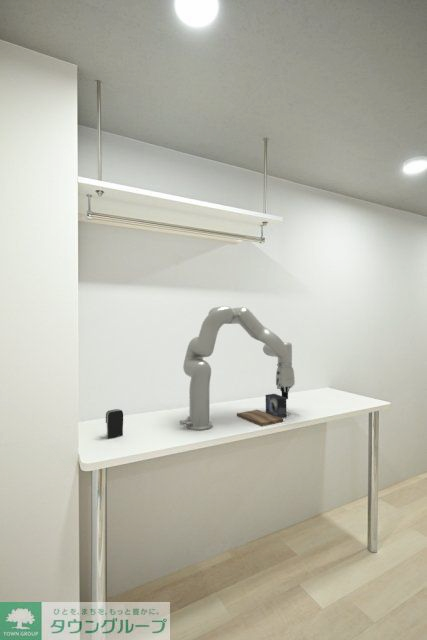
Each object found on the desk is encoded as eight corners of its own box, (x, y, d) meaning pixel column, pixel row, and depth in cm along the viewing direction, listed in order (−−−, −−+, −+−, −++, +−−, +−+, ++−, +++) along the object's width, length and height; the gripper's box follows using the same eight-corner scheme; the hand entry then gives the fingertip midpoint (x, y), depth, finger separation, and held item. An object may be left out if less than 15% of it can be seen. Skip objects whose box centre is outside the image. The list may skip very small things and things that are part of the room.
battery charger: (119, 433, 143) (120, 407, 143) (123, 435, 140) (123, 409, 141) (104, 436, 139) (104, 410, 139) (107, 439, 136) (108, 412, 136)
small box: (264, 413, 175) (264, 394, 175) (274, 412, 178) (274, 393, 178) (277, 419, 165) (277, 398, 165) (287, 417, 168) (287, 397, 168)
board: (261, 426, 153) (261, 423, 153) (236, 416, 170) (236, 413, 170) (283, 421, 161) (283, 418, 161) (257, 412, 178) (257, 409, 178)
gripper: (279, 366, 168) (279, 402, 168) (299, 364, 176) (299, 398, 176) (269, 365, 175) (269, 399, 174) (289, 363, 183) (289, 396, 182)
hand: (284, 398), depth 175 cm, fingers closed
